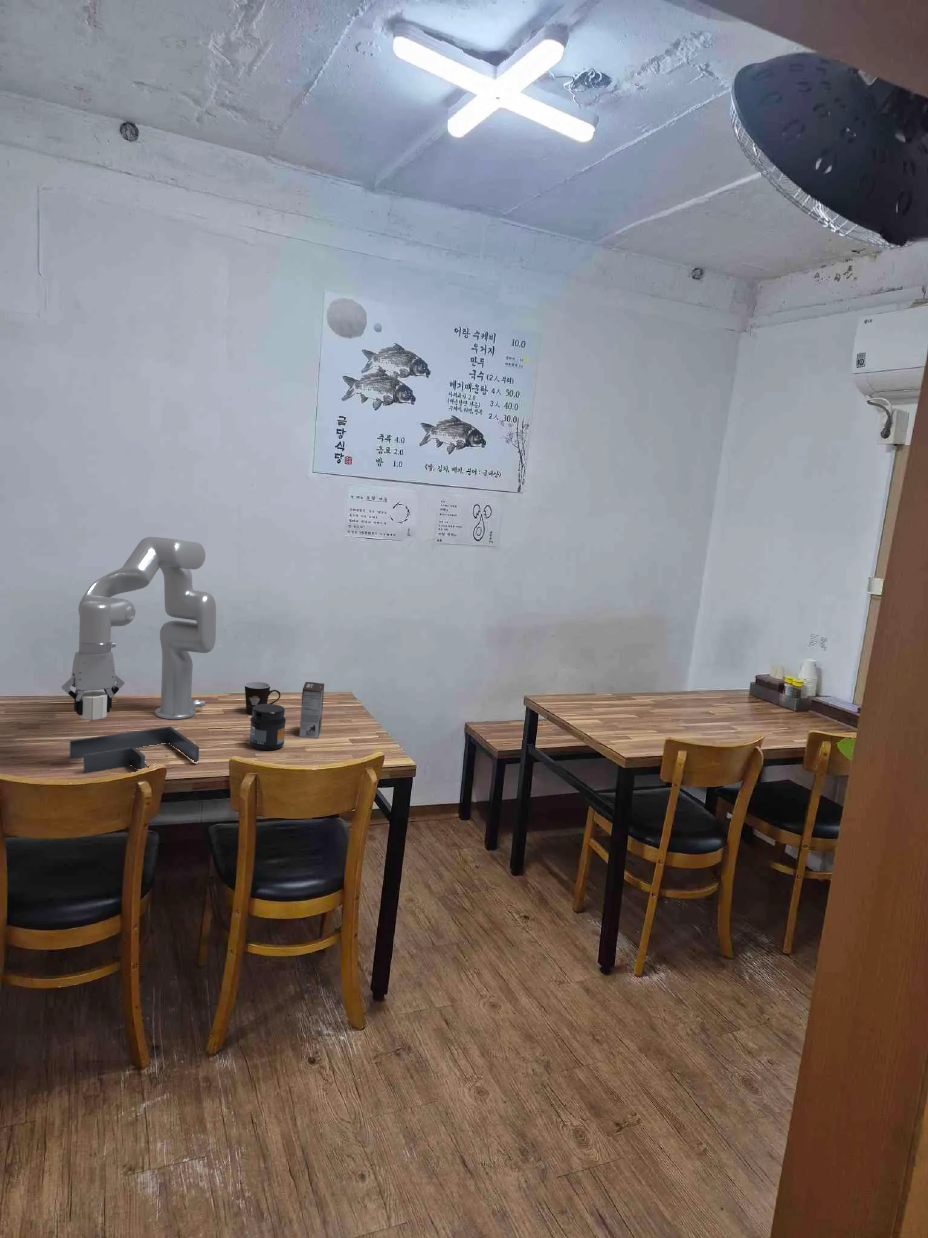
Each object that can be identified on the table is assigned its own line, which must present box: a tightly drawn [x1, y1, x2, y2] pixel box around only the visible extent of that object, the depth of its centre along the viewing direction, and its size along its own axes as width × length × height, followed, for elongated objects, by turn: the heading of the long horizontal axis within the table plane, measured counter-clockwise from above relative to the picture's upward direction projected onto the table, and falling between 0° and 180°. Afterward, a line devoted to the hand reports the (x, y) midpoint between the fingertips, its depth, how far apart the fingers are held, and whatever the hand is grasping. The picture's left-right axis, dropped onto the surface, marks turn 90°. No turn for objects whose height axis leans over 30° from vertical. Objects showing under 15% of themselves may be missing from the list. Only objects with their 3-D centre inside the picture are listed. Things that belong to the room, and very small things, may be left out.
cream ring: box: [78, 690, 108, 721], centre depth 207 cm, size 6×6×6 cm
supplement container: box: [248, 703, 287, 751], centre depth 236 cm, size 10×10×12 cm
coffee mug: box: [244, 681, 281, 716], centre depth 265 cm, size 12×9×10 cm
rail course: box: [69, 726, 200, 774], centre depth 214 cm, size 28×20×5 cm
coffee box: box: [299, 681, 325, 739], centre depth 251 cm, size 9×6×16 cm
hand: (93, 711), depth 207 cm, fingers closed on cream ring, 6 cm apart
